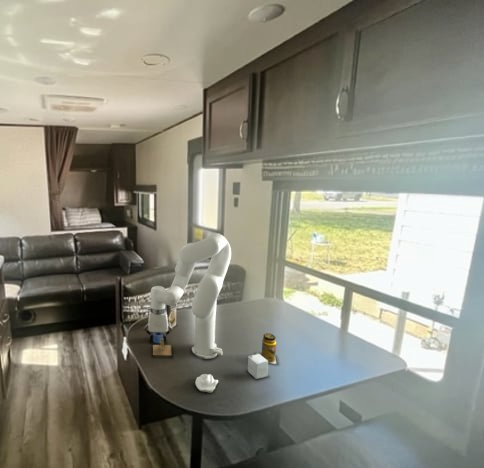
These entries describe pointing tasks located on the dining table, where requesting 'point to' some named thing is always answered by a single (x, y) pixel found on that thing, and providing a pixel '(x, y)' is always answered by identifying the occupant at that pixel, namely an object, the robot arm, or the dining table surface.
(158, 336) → the spool
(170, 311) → the coffee box
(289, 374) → the dining table surface
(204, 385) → the rose
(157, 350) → the dowel stand
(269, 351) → the condiment
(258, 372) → the product carton
